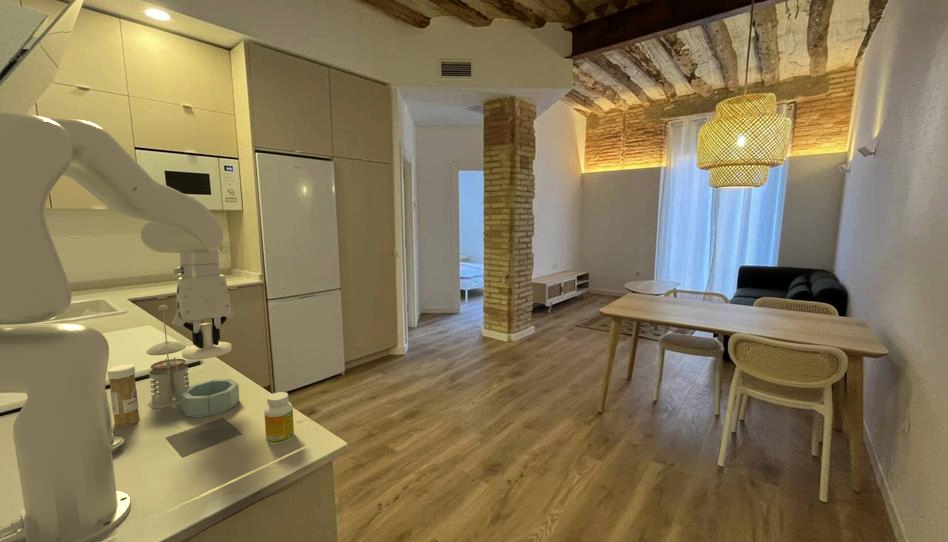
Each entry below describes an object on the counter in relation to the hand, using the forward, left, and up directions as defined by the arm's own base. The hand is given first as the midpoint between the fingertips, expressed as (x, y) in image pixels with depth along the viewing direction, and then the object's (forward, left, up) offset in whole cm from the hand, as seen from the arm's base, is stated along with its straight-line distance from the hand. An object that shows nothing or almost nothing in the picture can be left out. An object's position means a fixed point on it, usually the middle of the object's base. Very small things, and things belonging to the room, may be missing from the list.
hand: (207, 344), depth 95 cm
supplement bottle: (+4, -27, -16) cm, 32 cm away
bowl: (0, 0, -16) cm, 16 cm away
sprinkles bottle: (-15, +6, -16) cm, 23 cm away
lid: (0, 0, -2) cm, 2 cm away
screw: (-20, -6, -16) cm, 27 cm away
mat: (-6, -14, -16) cm, 22 cm away
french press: (-5, +12, -16) cm, 21 cm away
